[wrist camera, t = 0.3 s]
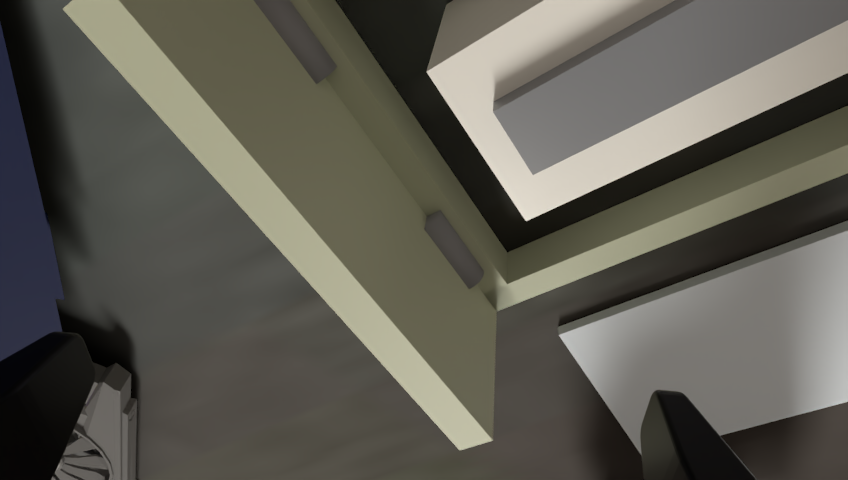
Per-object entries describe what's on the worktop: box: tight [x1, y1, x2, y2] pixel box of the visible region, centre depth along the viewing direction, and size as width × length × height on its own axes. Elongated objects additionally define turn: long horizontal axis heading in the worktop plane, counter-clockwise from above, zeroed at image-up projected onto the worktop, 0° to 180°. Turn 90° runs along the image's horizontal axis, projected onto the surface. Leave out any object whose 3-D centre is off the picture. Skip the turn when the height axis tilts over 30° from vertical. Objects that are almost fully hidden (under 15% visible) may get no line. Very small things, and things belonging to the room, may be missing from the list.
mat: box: [558, 221, 848, 456], centre depth 26 cm, size 9×18×1 cm, turn 123°
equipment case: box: [63, 0, 848, 450], centre depth 16 cm, size 16×21×8 cm
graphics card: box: [51, 362, 137, 480], centre depth 35 cm, size 17×4×12 cm
